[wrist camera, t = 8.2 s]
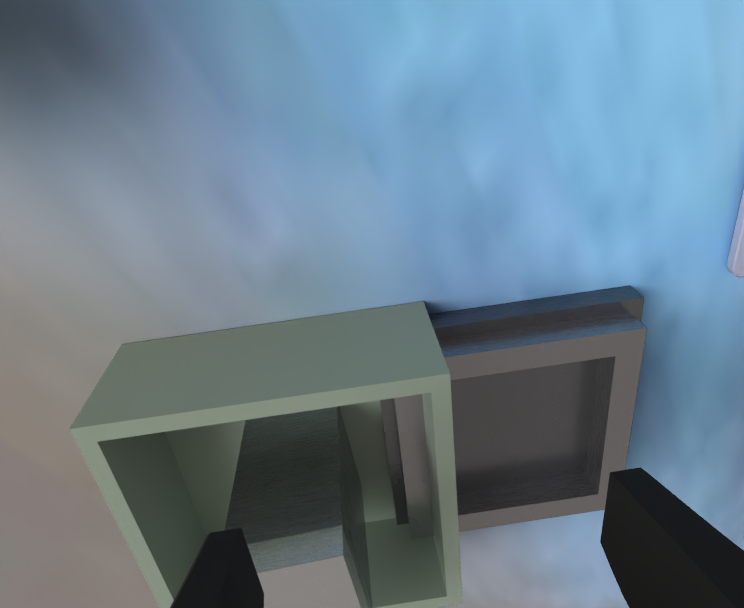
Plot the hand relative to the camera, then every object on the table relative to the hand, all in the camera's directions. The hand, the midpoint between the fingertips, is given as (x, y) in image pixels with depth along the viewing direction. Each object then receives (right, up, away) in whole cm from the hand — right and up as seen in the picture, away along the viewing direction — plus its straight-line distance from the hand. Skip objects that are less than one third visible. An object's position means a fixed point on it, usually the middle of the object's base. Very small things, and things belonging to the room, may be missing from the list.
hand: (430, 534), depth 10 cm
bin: (-4, -1, +12) cm, 12 cm away
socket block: (+4, 0, +12) cm, 13 cm away
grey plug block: (-4, -2, +11) cm, 12 cm away
